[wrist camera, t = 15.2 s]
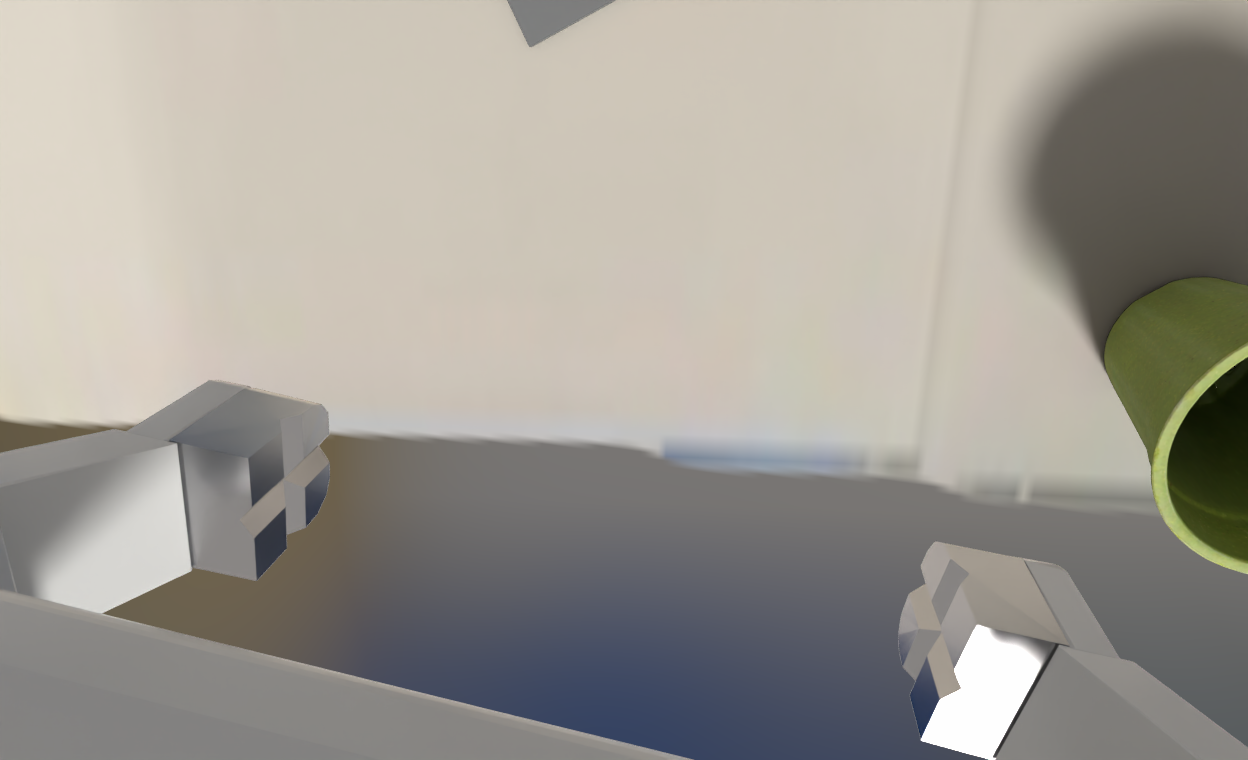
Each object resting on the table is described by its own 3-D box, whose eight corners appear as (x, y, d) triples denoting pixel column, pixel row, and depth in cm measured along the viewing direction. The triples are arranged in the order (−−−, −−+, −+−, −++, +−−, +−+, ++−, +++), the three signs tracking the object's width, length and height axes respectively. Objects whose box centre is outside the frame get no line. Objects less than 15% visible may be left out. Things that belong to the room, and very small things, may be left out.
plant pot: (1040, 265, 38) (1148, 347, 27) (1317, 202, 35) (1554, 268, 24) (1060, 464, 42) (1160, 599, 32) (1309, 423, 39) (1508, 557, 29)
